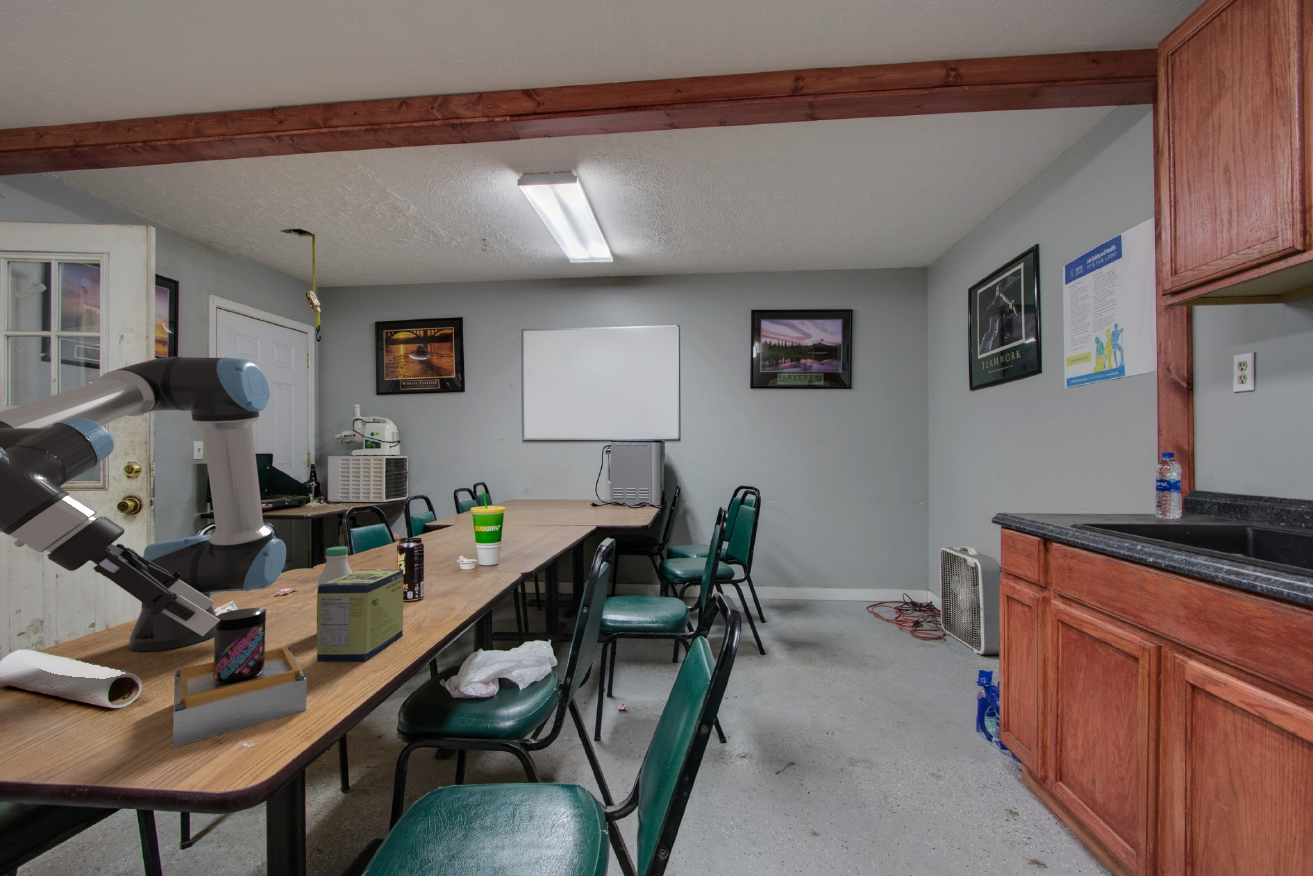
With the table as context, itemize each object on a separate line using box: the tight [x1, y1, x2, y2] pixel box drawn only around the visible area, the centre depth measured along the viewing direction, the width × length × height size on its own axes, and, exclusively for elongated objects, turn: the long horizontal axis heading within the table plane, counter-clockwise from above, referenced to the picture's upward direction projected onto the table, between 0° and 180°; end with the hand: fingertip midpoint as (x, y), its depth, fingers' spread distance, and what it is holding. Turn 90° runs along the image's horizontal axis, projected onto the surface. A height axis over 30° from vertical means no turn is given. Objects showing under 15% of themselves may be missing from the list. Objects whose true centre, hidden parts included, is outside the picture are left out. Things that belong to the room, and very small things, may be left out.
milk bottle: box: [316, 546, 353, 629], centre depth 123 cm, size 8×8×20 cm
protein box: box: [316, 568, 404, 662], centre depth 113 cm, size 10×16×16 cm
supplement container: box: [213, 607, 267, 684], centre depth 86 cm, size 7×7×10 cm
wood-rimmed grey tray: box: [172, 646, 308, 748], centre depth 86 cm, size 18×16×6 cm
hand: (209, 617), depth 83 cm, fingers open, 13 cm apart
